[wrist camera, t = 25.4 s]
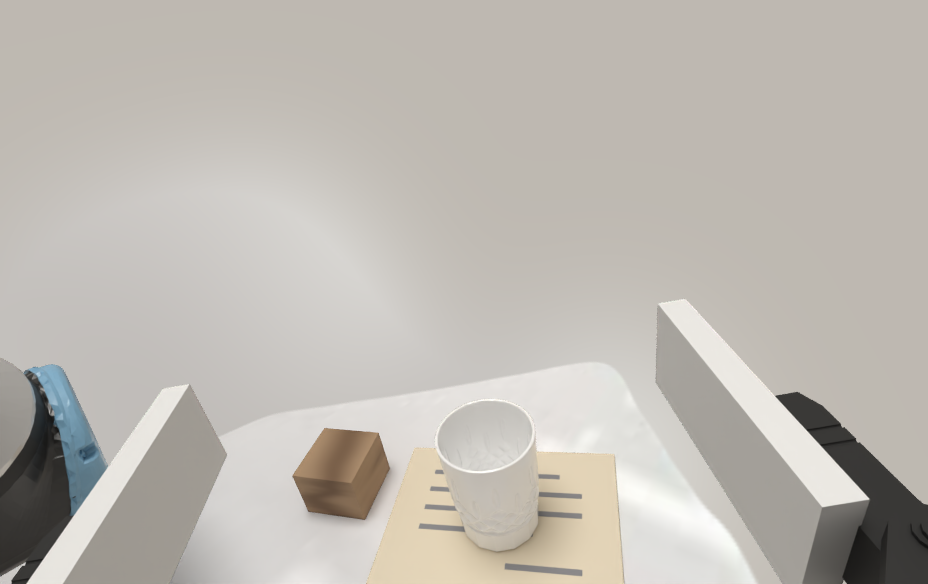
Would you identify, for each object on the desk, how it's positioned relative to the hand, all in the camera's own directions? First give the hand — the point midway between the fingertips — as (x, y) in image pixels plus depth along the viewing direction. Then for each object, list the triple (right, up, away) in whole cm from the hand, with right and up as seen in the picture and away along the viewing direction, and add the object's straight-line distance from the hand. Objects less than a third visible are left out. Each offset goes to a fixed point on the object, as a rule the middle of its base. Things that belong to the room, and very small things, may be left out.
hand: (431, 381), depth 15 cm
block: (-10, -17, +36) cm, 41 cm away
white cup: (+4, -17, +30) cm, 35 cm away
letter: (+4, -17, +30) cm, 35 cm away
